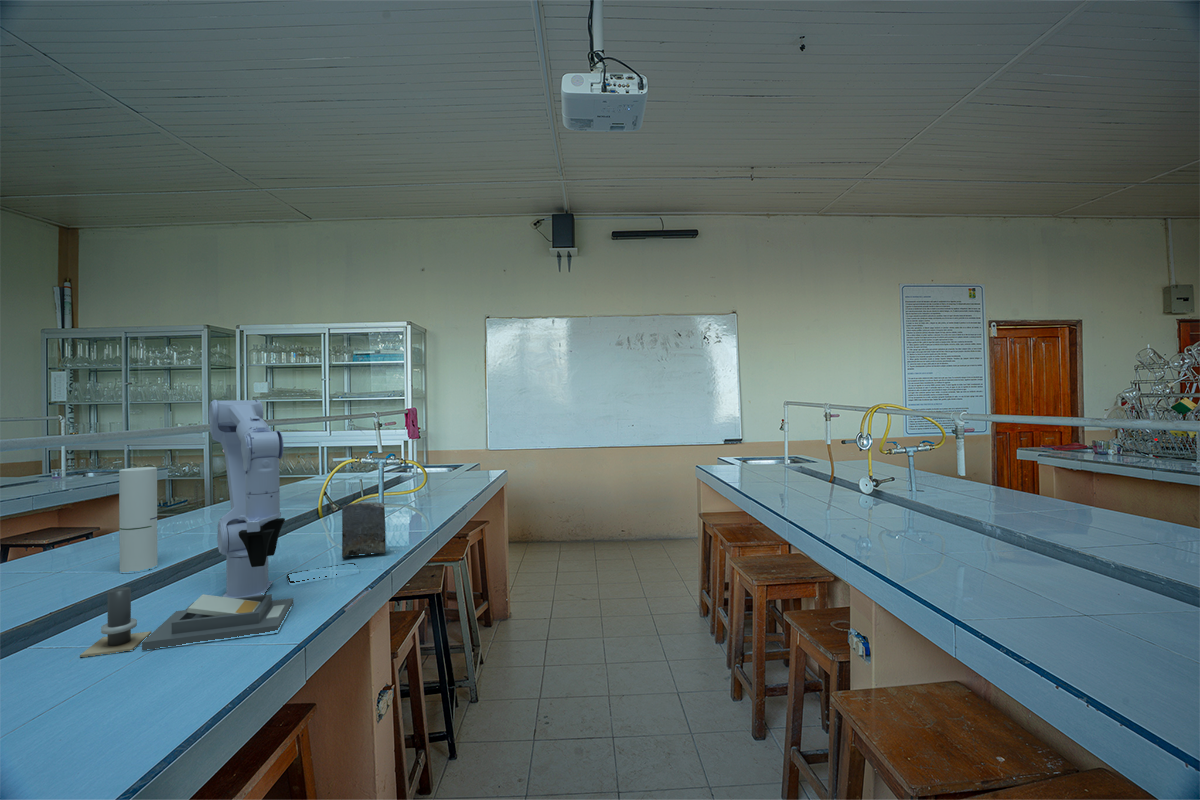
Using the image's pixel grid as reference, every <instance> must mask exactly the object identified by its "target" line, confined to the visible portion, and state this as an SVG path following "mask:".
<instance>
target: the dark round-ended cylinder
mask: <svg viewBox="0 0 1200 800" xmlns="http://www.w3.org/2000/svg"><path fill="white" fill-rule="evenodd" d="M131 611H132V587H130V586H129V587H128V586H125V587H124V586H123V587H118V588H117V587H116V588H114V589H110V590H108V591H107V623H105V624H103V625H102V626H101V627H100V633H101V634H102V635H107V637H108V646H118V645H122V644H125V643H128V642H129V641H131V634H132V629H134V628H135V627H137V626H138V625H137V624H138V619H137V618H134V617H133V618H132V612H131Z"/></svg>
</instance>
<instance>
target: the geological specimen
mask: <svg viewBox="0 0 1200 800" xmlns="http://www.w3.org/2000/svg"><path fill="white" fill-rule="evenodd" d="M385 510H386V509H385V503H383V502H382V501H381V502H376V501H374V502H373V501H361V502H357V503H351V502H350V503H349V504H346V505H344V506H343V505H342V506H341V521H342V522H341V523H342V525H341V527H342V529H341V532H342V533H341V534H342V535H341V538H342V541H341V557H342V558H345V557H346V556H347V555H348V556H349V555H359V554H369V555H370V554H371V553H379V554H385V552H386V551H387V550H386V546H387V545H386V543H387V542H386V514H385V513H386V511H385ZM371 555H372V554H371Z"/></svg>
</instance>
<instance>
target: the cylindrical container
mask: <svg viewBox="0 0 1200 800" xmlns="http://www.w3.org/2000/svg"><path fill="white" fill-rule="evenodd" d="M118 473H119V475H118V477H119V479H118V480H119V481H118V489H119V491H118V492H119V493H118V494H119V495H118V496H119V499H118V500H119V501H118V502H119V504H118V505H119V509H118V510H119V512H118V514H119V515H118V518H119V519H118V522H119V524H118V525H119V535H118V536H119V572H120V571H121V572H129V571H140V570H144V569H148V568H152V567H154V566H156V565H157V566H158V467H155V466H146V467H143V466H142V467H130V468H122V469H119V471H118Z"/></svg>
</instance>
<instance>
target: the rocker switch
mask: <svg viewBox="0 0 1200 800" xmlns="http://www.w3.org/2000/svg"><path fill="white" fill-rule="evenodd" d="M193 602H194V603H193ZM193 602H192V603H193V604H192V603H191V604H192V605H191V604H190V605H191V606H190V605H189V606H190V607H189V606H188V607H189V608H188V607H187V608H188V611H187V613H196V614H204V615H212V616H221V615H230V614H238V613H247V612H255V611H256V610H257V608H258V607H259V605H260V604H261V602H258V601H250V600H243V599H235V598H227V597H222V596H219V595H218V596H217V595H210V594H201V595H200V596H199V597H198V598H197V599H196V600H195V601H193Z"/></svg>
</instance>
